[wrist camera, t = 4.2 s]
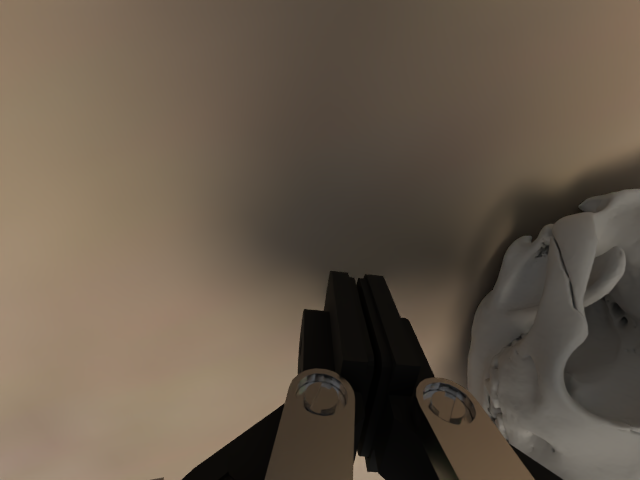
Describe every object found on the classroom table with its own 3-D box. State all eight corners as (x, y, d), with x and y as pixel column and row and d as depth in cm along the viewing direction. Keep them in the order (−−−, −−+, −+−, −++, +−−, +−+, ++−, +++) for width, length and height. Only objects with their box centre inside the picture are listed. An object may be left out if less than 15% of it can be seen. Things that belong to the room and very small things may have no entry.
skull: (875, 225, 10) (1115, 895, 5) (554, 270, 17) (534, 551, 13) (750, 57, 7) (983, 1007, 3) (445, 195, 15) (371, 504, 11)
